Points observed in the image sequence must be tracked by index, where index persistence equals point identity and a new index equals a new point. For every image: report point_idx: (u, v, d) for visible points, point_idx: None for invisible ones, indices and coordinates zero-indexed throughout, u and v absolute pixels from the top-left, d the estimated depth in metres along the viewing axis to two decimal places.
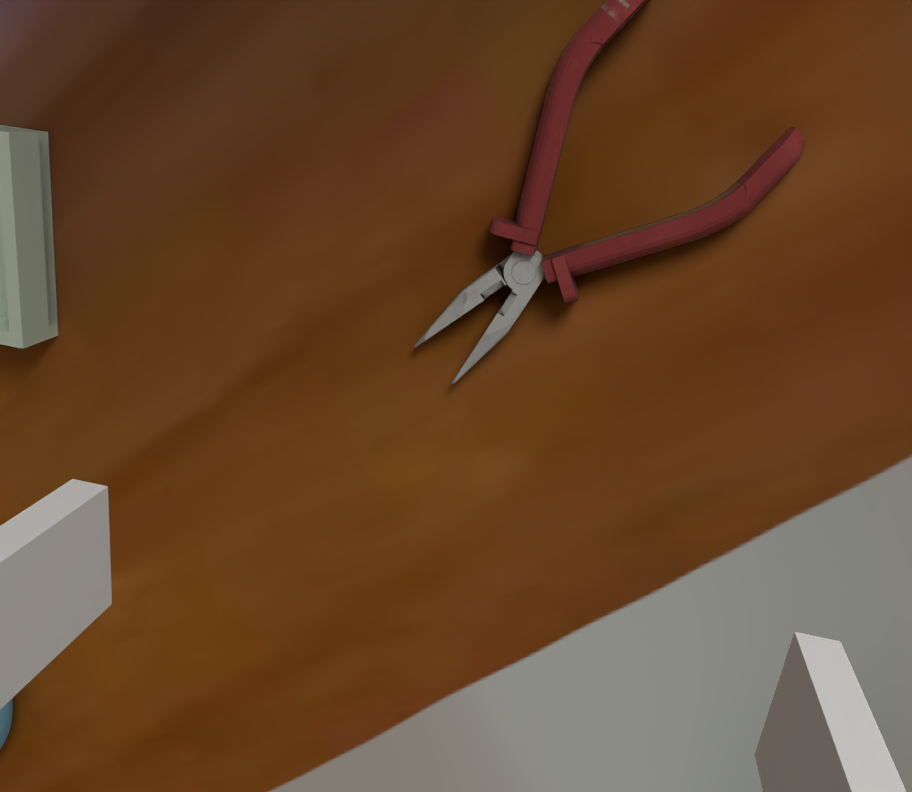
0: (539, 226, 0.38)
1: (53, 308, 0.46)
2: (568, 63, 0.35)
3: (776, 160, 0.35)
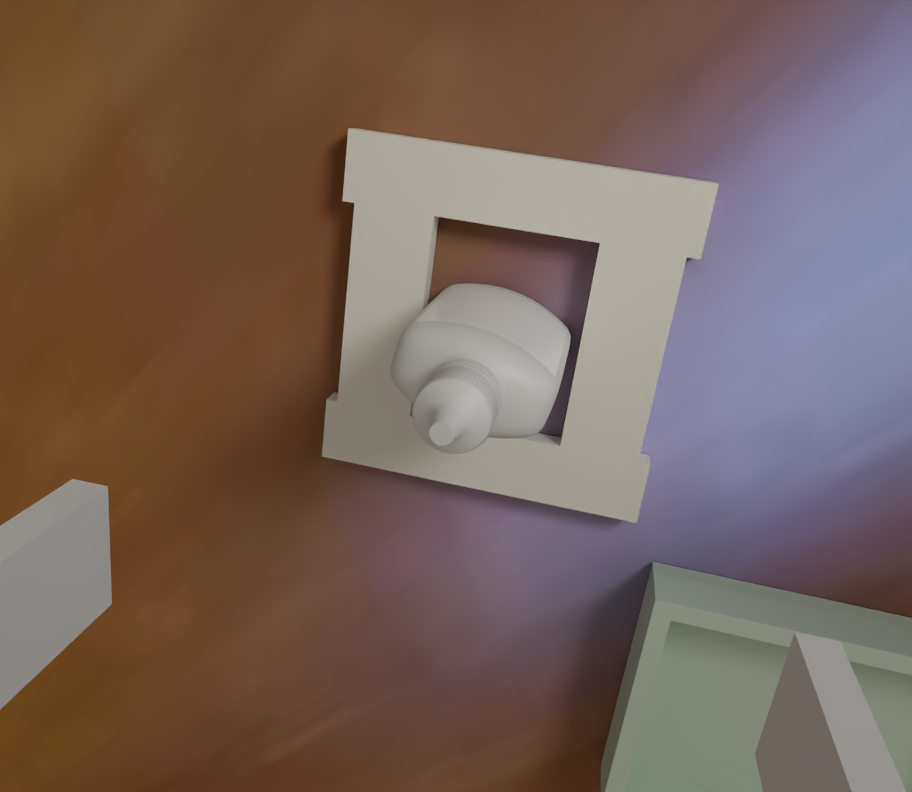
0: None
1: None
2: None
3: None
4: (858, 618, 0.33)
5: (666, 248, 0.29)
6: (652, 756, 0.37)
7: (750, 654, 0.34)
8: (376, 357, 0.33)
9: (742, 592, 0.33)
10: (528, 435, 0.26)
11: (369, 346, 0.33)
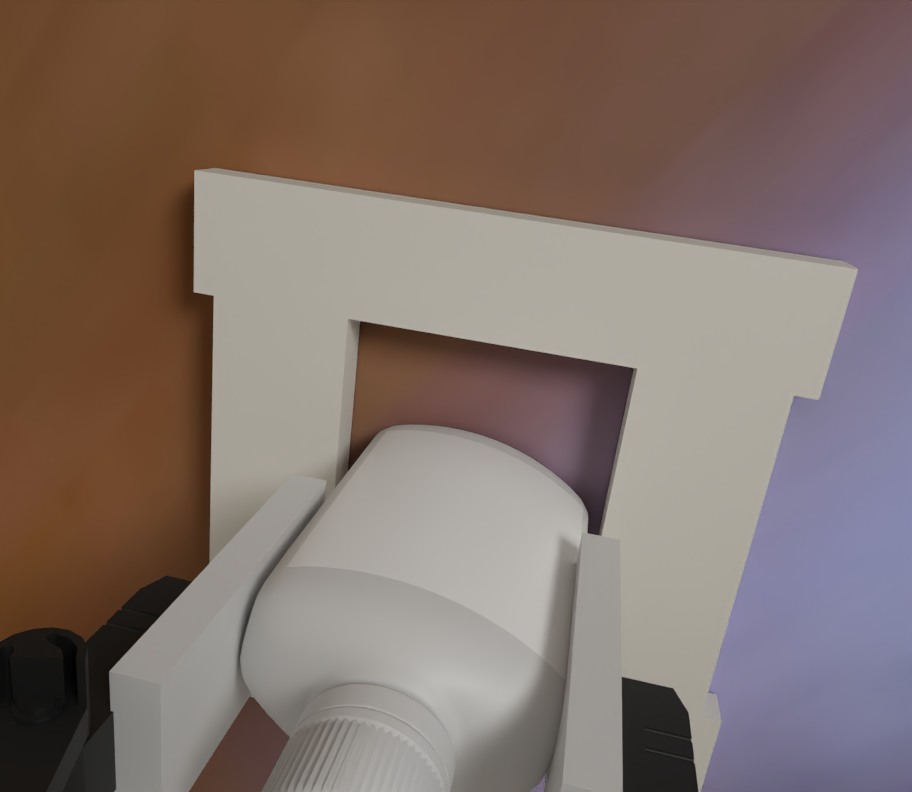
0: None
1: None
2: None
3: None
4: None
5: (756, 379, 0.16)
6: None
7: None
8: None
9: None
10: None
11: None
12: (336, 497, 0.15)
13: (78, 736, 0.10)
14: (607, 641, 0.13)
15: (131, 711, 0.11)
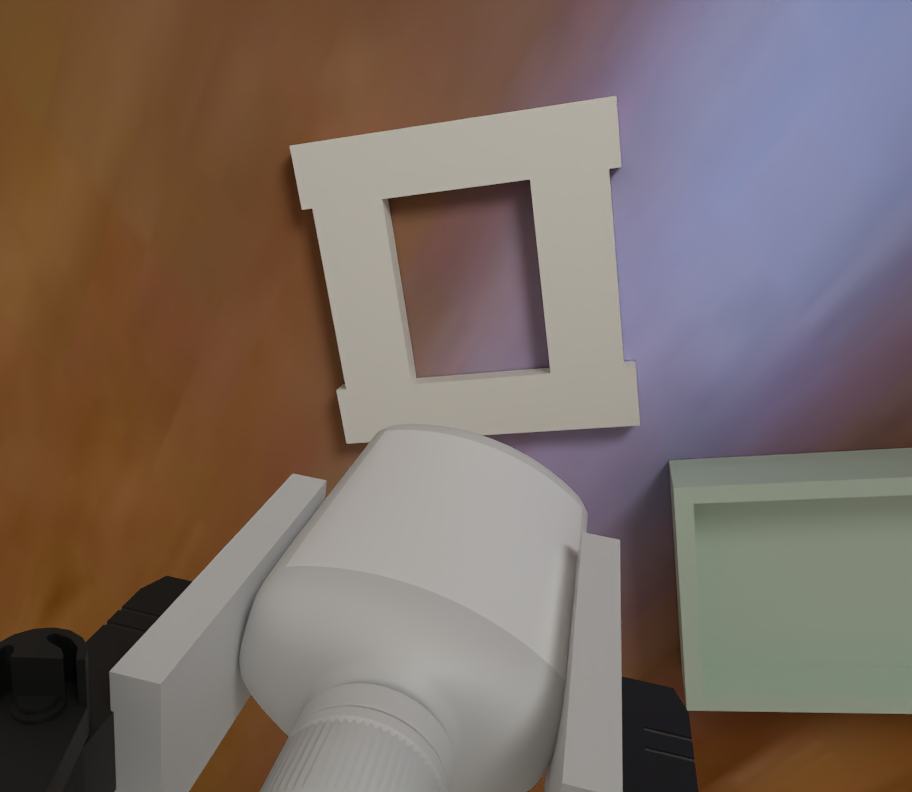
0: None
1: None
2: None
3: None
4: (872, 458, 0.34)
5: (588, 166, 0.32)
6: (725, 648, 0.38)
7: (784, 522, 0.36)
8: (368, 339, 0.36)
9: (757, 464, 0.35)
10: None
11: (359, 331, 0.36)
12: (335, 497, 0.15)
13: (78, 736, 0.10)
14: (607, 640, 0.13)
15: (131, 711, 0.11)
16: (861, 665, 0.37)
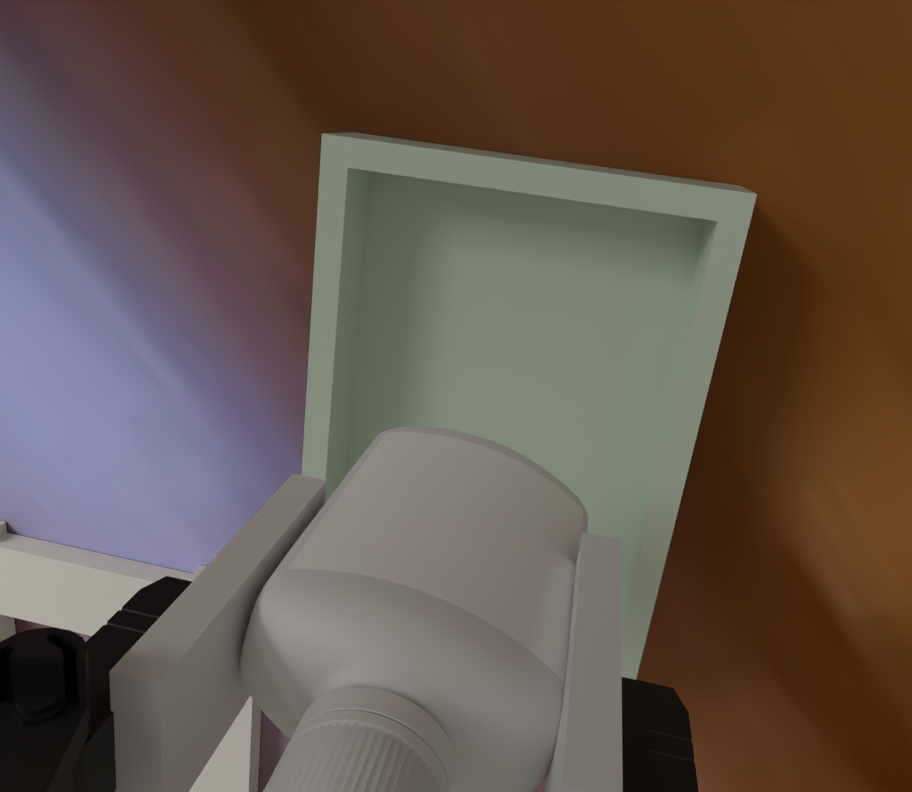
0: None
1: (679, 177, 0.23)
2: None
3: None
4: None
5: None
6: None
7: None
8: None
9: None
10: None
11: None
12: (336, 499, 0.15)
13: (79, 736, 0.10)
14: (606, 641, 0.13)
15: (132, 711, 0.11)
16: (654, 424, 0.25)
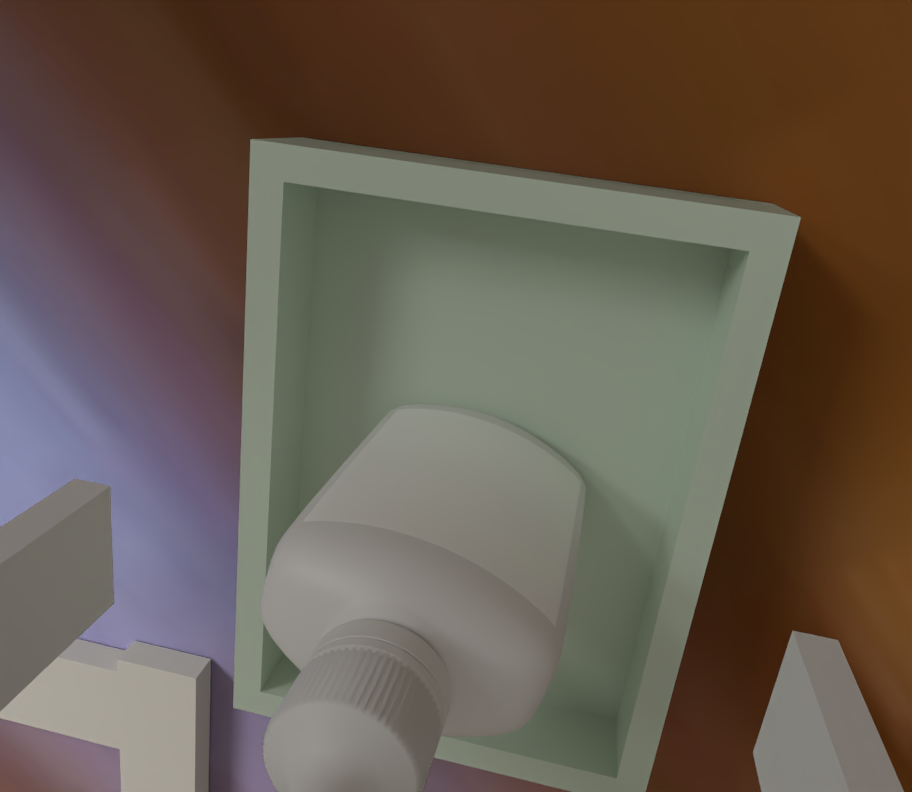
0: None
1: (698, 193, 0.18)
2: None
3: None
4: None
5: None
6: (588, 676, 0.22)
7: None
8: None
9: None
10: (508, 732, 0.14)
11: None
12: (349, 465, 0.17)
13: None
14: None
15: None
16: (666, 493, 0.20)
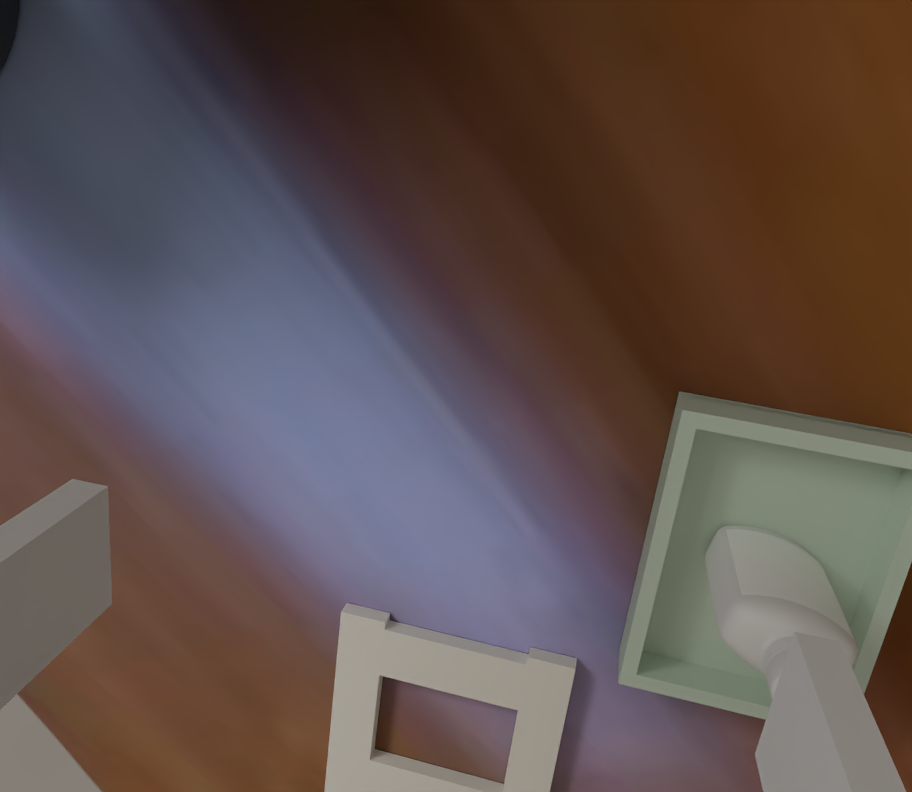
0: None
1: (888, 431, 0.38)
2: None
3: None
4: (650, 525, 0.41)
5: (380, 640, 0.47)
6: None
7: (693, 596, 0.42)
8: None
9: (633, 600, 0.43)
10: None
11: None
12: (733, 564, 0.36)
13: None
14: None
15: None
16: (863, 574, 0.39)
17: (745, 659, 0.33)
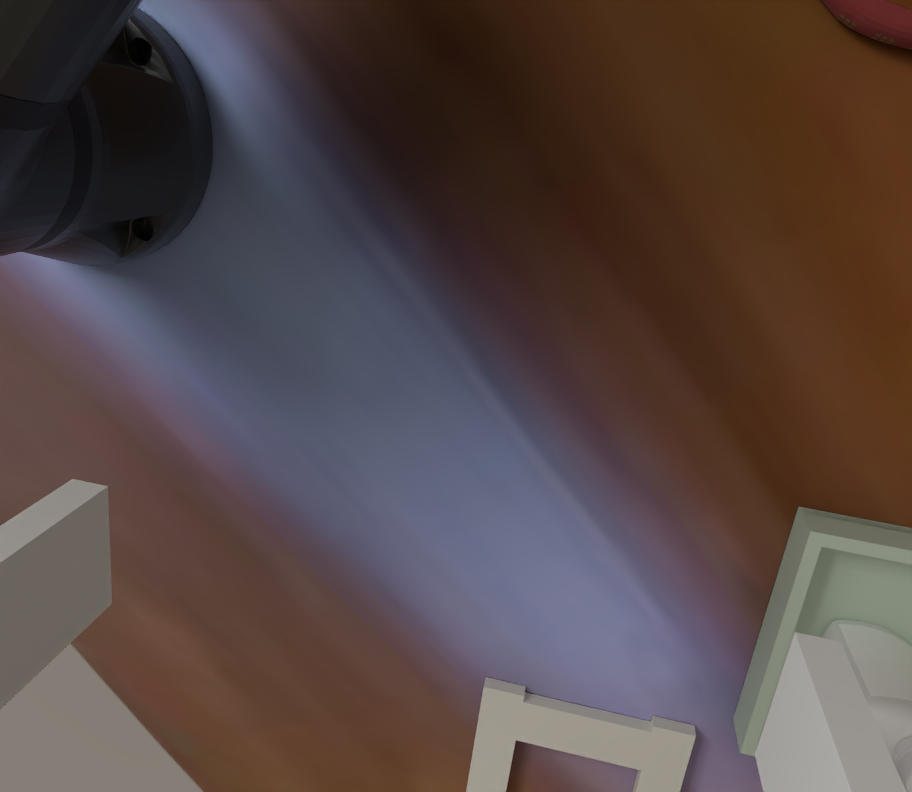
0: None
1: None
2: (868, 15, 0.36)
3: None
4: (769, 618, 0.47)
5: (518, 711, 0.53)
6: None
7: None
8: None
9: (750, 679, 0.49)
10: None
11: None
12: (855, 663, 0.42)
13: None
14: None
15: None
16: None
17: None
